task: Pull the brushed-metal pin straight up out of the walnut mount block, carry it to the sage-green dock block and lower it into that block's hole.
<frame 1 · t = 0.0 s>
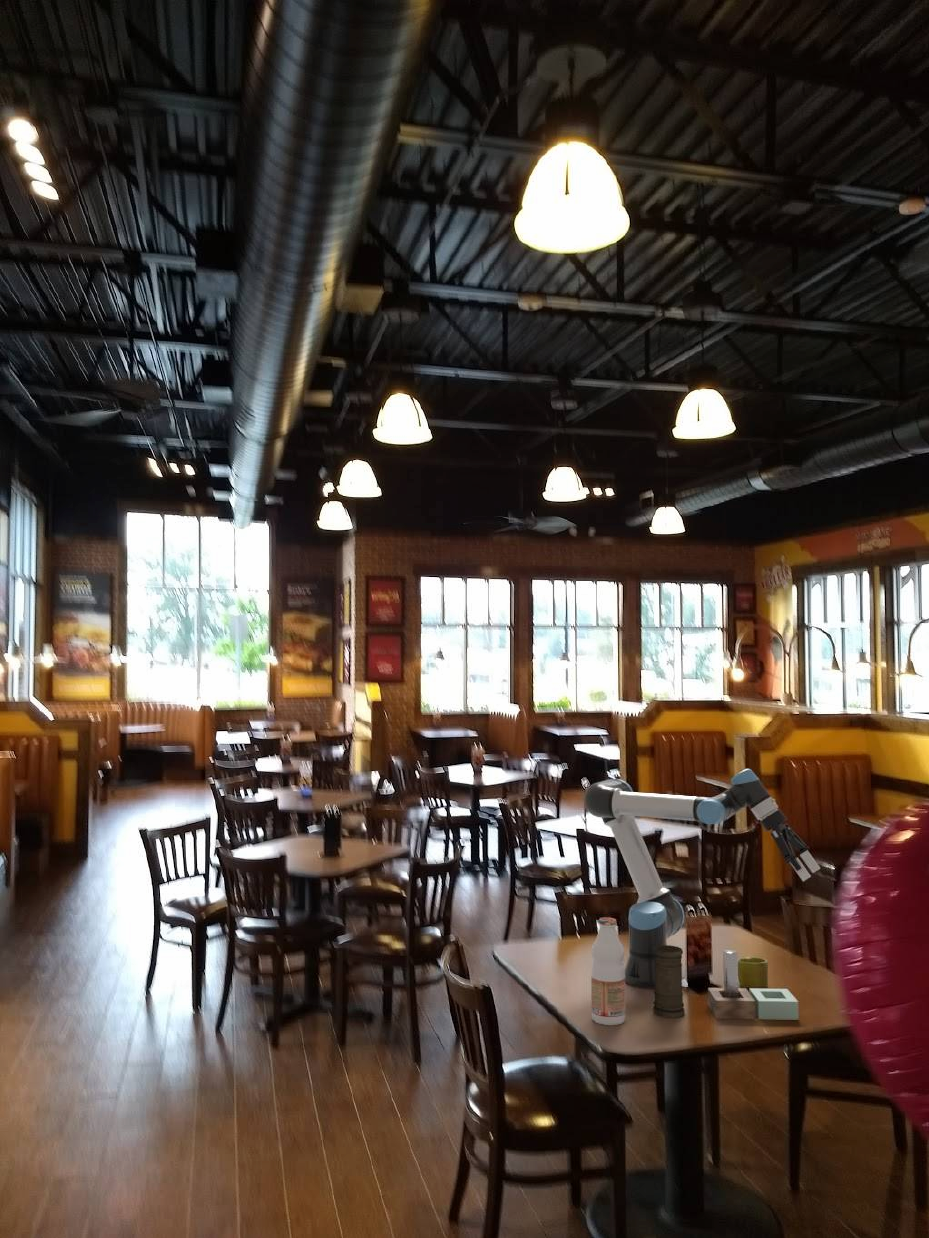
hand: (812, 874, 298), 36 cm above the table, fingers open, 13 cm apart
pin: (731, 1011, 281), resting in mount block
dock block: (773, 1012, 281), on the table
mount block: (731, 1011, 282), on the table
container: (668, 1012, 281), on the table
mug: (751, 985, 306), on the table
fruit juice: (608, 1020, 275), on the table
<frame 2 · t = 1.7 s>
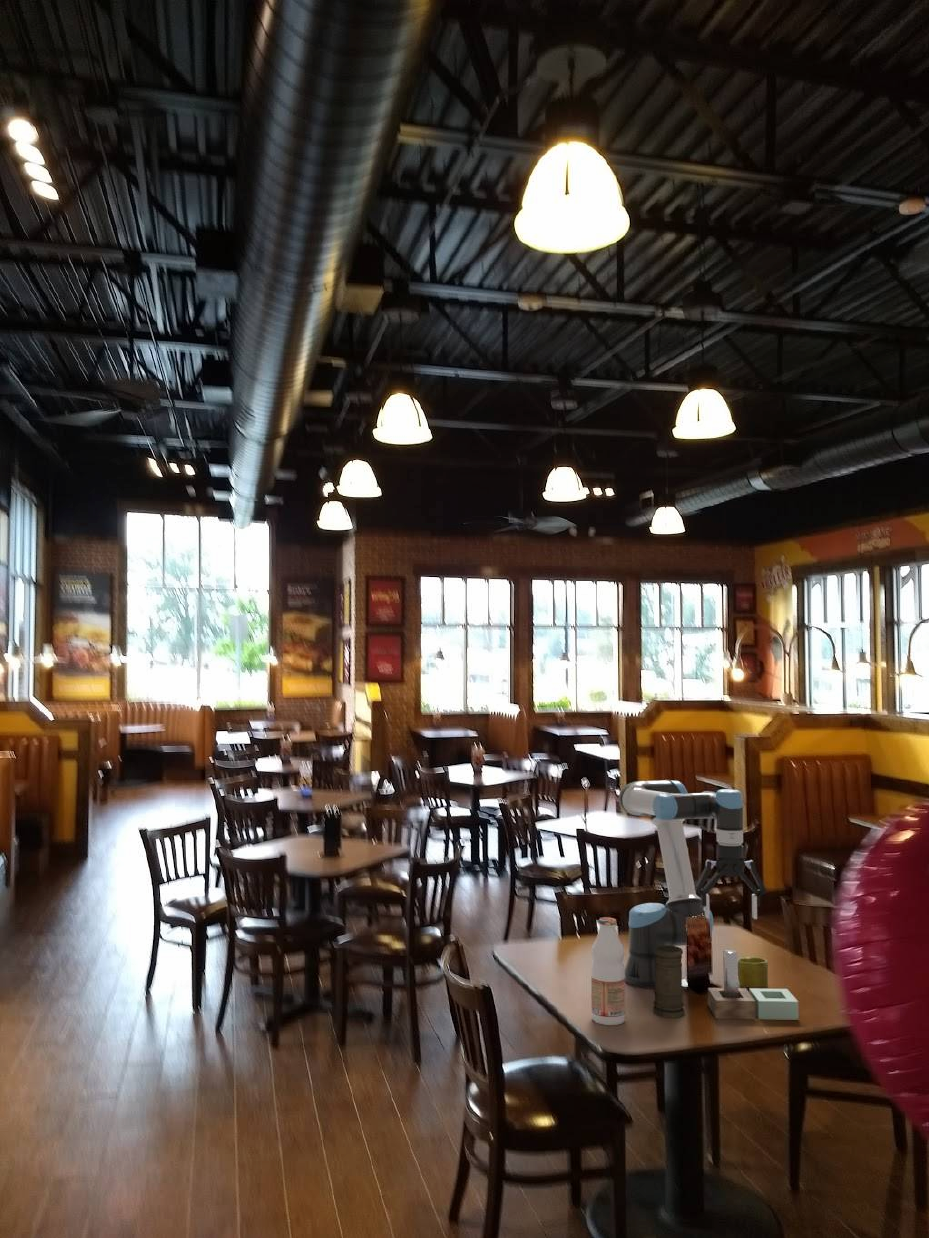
hand: (730, 917, 283), 27 cm above the table, fingers open, 13 cm apart
nothing on the table moved.
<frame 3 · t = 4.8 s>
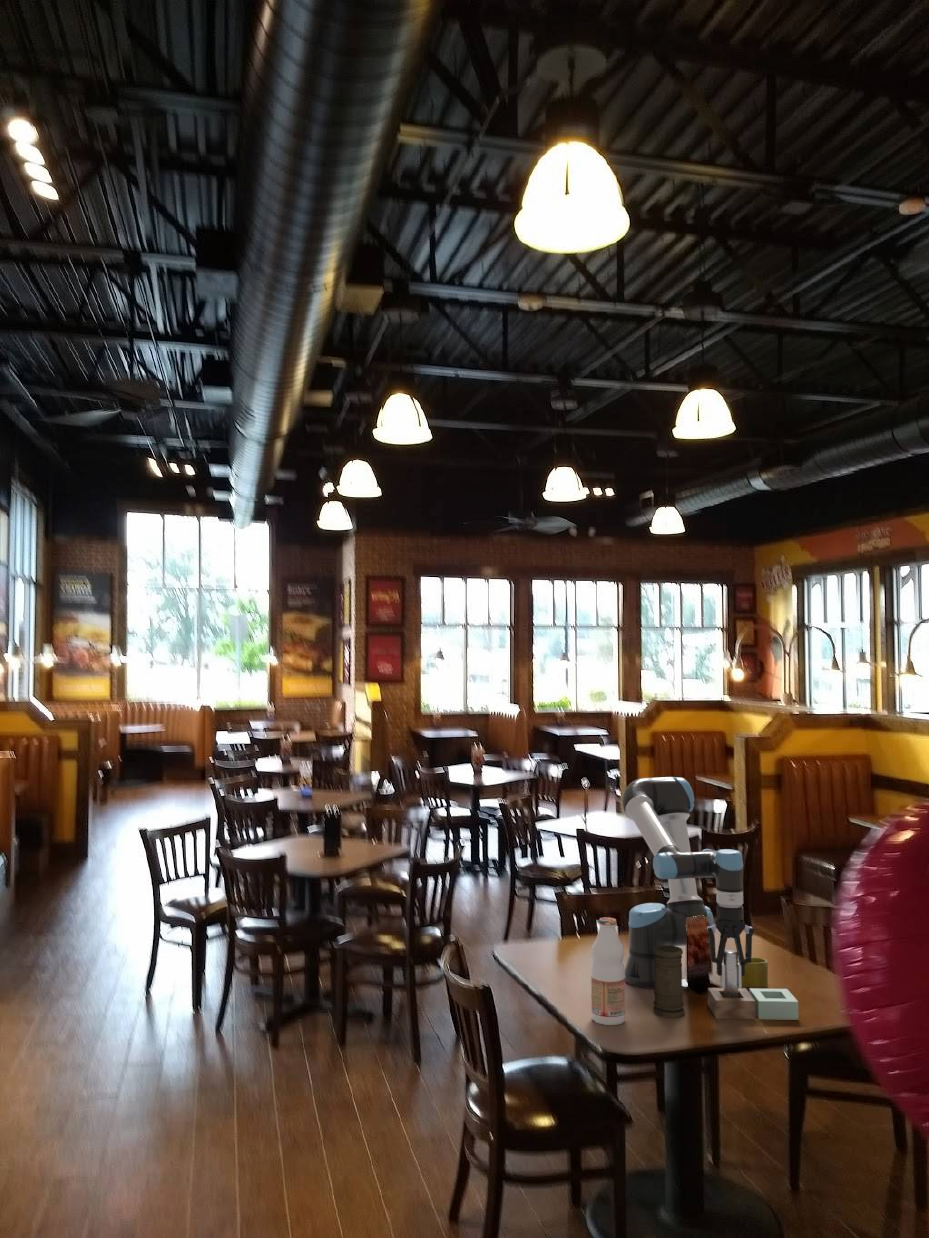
hand: (730, 986, 282), 7 cm above the table, fingers closed on pin, 4 cm apart
pin: (731, 1011, 282), resting in mount block, touching gripper
everything else where it was.
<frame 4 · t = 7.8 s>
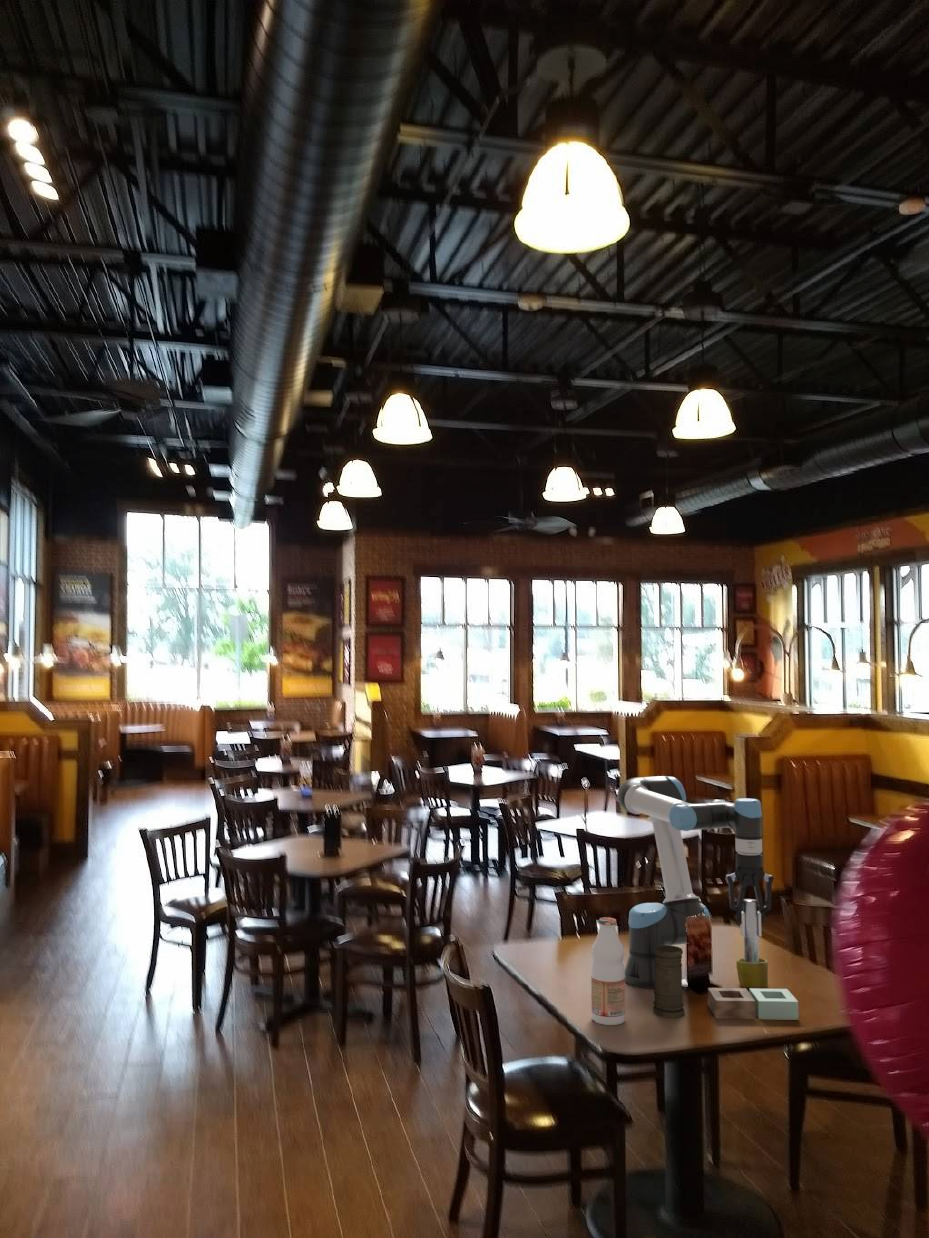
hand: (750, 934, 282), 22 cm above the table, fingers closed on pin, 4 cm apart
pin: (751, 960, 281), point 15 cm above the table, touching gripper
everything else where it was.
when the fingers open (9 cm above the table, at t = 11.2 s): pin drops 1 cm, resting in dock block.
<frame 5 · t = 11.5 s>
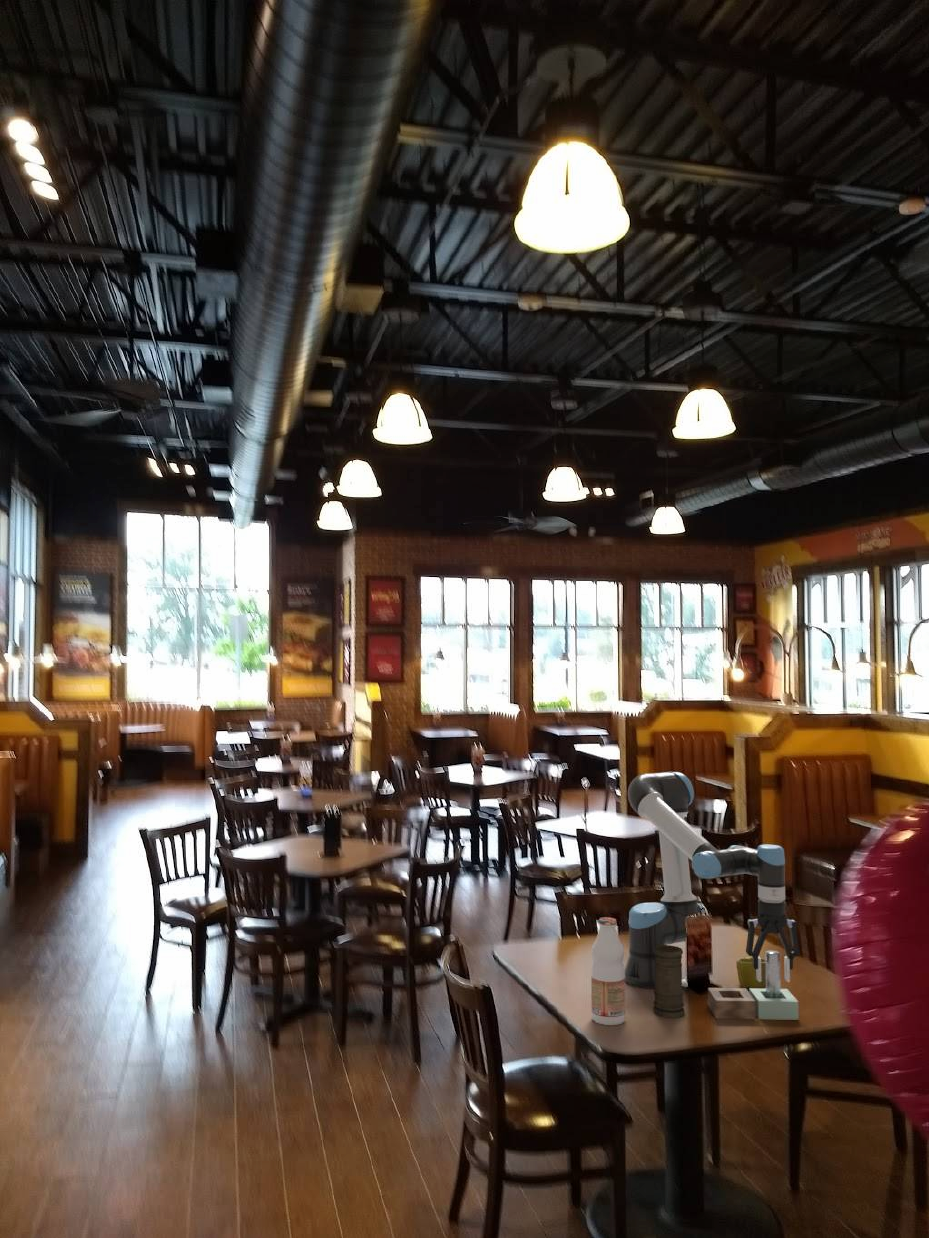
hand: (773, 980, 281), 9 cm above the table, fingers open, 7 cm apart
pin: (773, 1012, 281), resting in dock block
everything else where it was.
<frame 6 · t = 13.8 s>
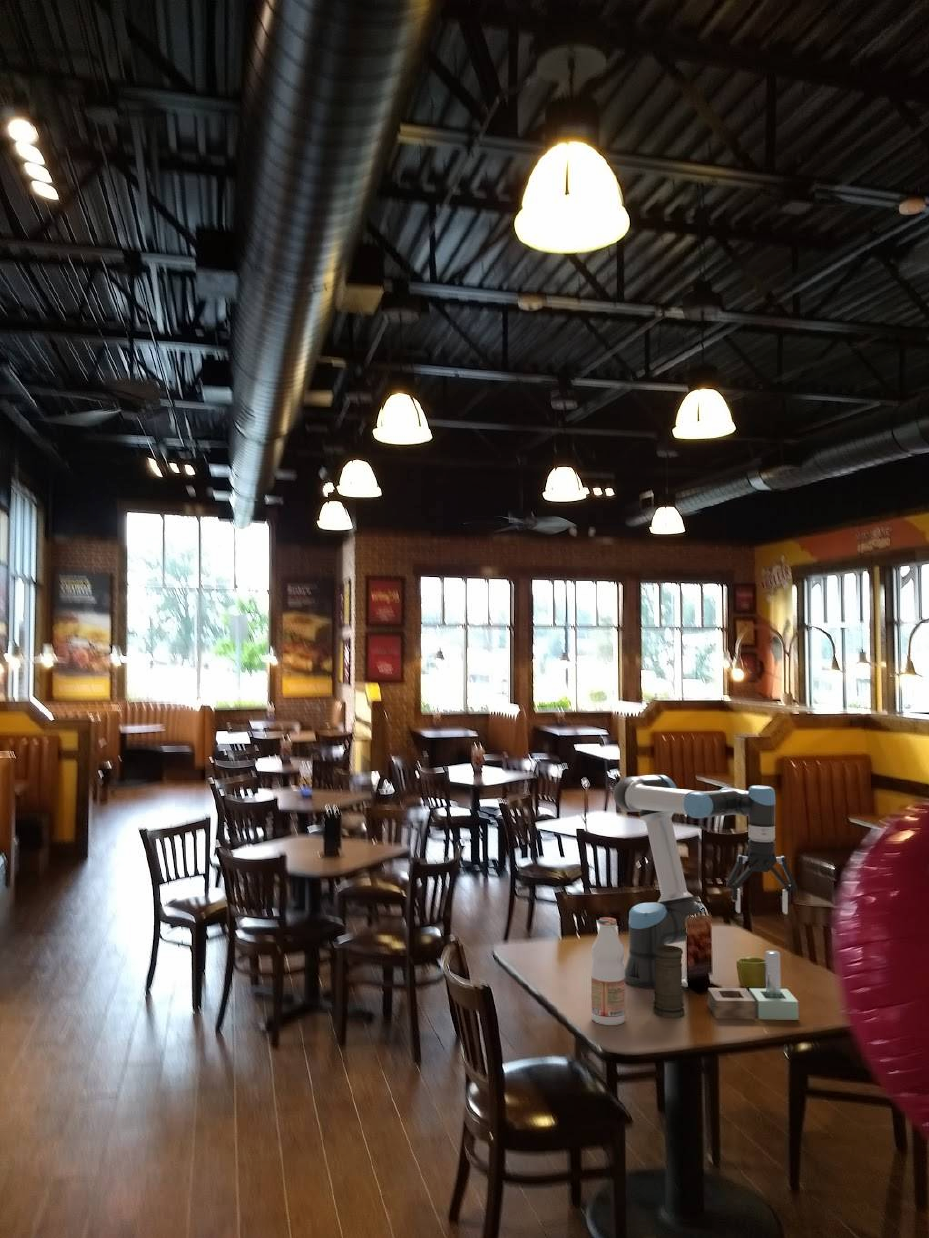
hand: (761, 912, 287), 27 cm above the table, fingers open, 13 cm apart
nothing on the table moved.
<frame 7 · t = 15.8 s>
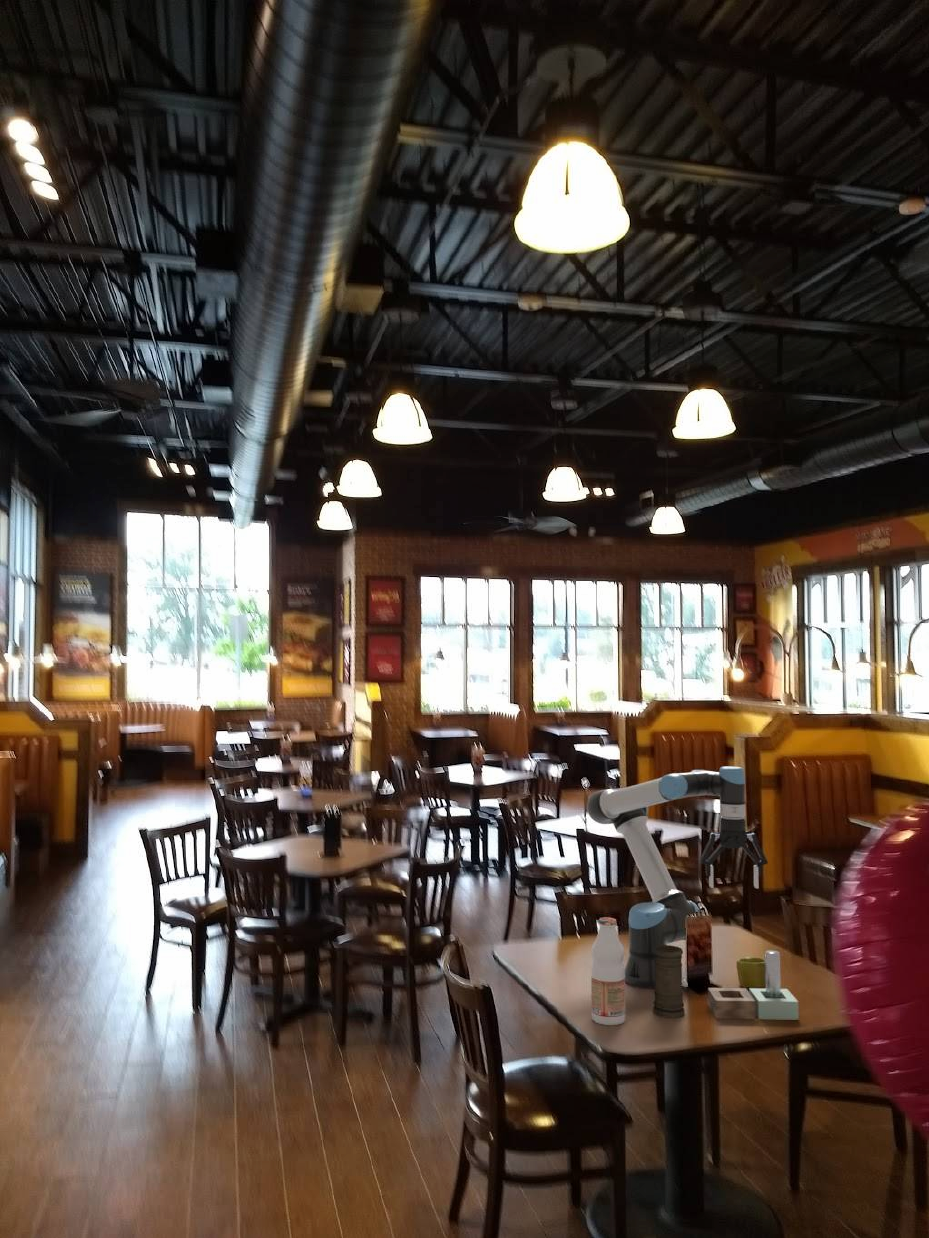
hand: (733, 887, 300), 32 cm above the table, fingers open, 13 cm apart
nothing on the table moved.
at the end: pin 0.0 cm off-centre on the dock block, point 0.0 cm above the dock block's base; pin tilted 0° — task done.
